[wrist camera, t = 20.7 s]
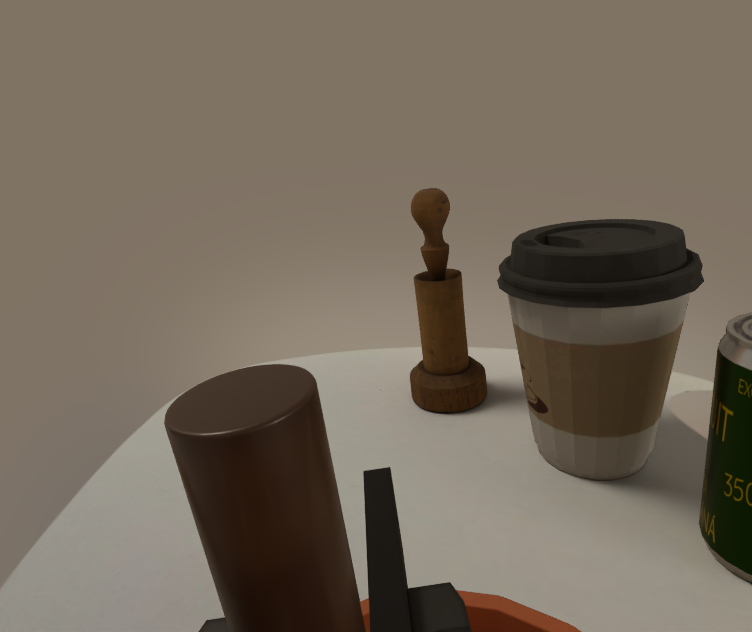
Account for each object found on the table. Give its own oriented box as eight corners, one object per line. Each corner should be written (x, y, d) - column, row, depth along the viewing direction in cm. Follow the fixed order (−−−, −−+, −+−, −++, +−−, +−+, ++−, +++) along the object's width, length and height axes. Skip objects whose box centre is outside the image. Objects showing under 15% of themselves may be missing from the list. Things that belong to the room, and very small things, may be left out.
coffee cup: (490, 413, 39) (478, 231, 34) (631, 396, 39) (640, 208, 34) (533, 514, 29) (524, 270, 24) (729, 493, 28) (763, 239, 23)
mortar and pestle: (484, 375, 45) (470, 179, 40) (490, 411, 39) (474, 187, 33) (414, 379, 47) (390, 190, 41) (409, 415, 41) (381, 199, 35)
